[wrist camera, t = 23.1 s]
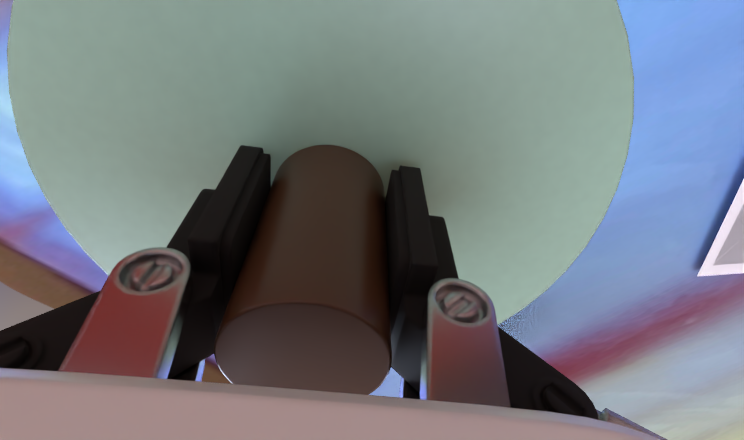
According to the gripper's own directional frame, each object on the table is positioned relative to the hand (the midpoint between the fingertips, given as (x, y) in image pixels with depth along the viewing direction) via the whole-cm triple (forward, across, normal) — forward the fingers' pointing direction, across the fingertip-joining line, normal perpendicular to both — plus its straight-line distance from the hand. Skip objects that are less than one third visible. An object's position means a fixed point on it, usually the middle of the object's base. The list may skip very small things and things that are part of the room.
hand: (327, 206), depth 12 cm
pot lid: (+1, 0, 0) cm, 1 cm away
